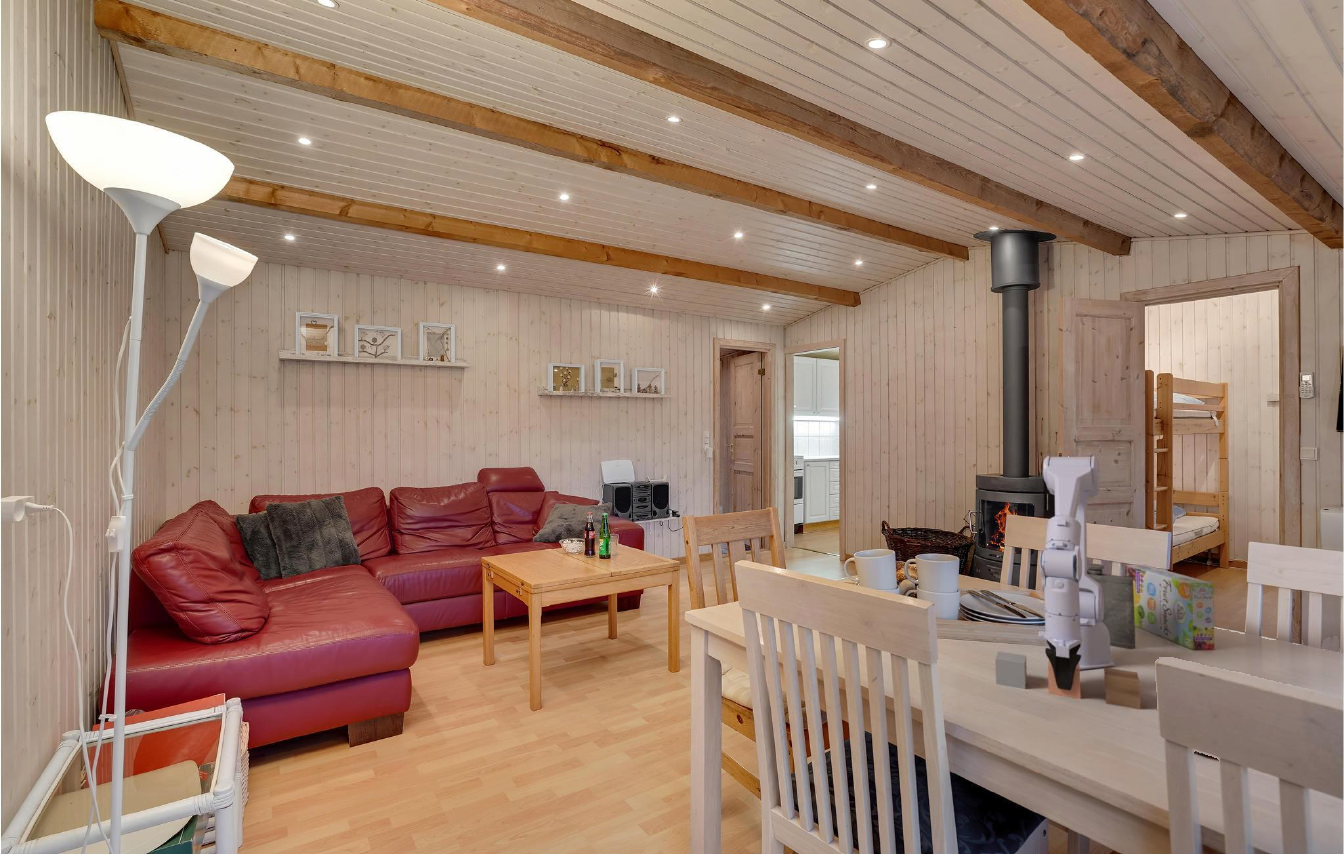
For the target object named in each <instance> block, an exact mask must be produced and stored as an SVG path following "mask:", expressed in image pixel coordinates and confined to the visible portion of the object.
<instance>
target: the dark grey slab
mask: <svg viewBox="0 0 1344 854" xmlns="http://www.w3.org/2000/svg"><path fill="white" fill-rule="evenodd" d="M1104 569H1105V566H1104V565H1103V564H1099V563H1087V575H1088V576H1090V577H1091V578H1092V579H1094V580H1095V581H1096V582H1098V583H1099V584H1100V585H1101V587H1102V589H1103V598H1104V618H1103V620H1102V621H1101V622H1102V623H1104V624H1105V626H1106V627H1107V629H1108V631H1109V635H1110V647H1116V648H1120V649H1128V650H1135V649H1136V626H1135V619H1134V590H1133V578H1131V577H1125V575H1124V576H1123V575H1117V574H1116V575H1115V574H1114V575H1113V574H1108V573H1107V574H1106V573H1104ZM1079 590H1084V591H1091V590H1090V589H1086V588H1079ZM1092 592H1093V591H1092Z"/></svg>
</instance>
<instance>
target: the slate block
mask: <svg viewBox="0 0 1344 854" xmlns="http://www.w3.org/2000/svg"><path fill="white" fill-rule="evenodd" d="M1027 670H1028V669H1027V656H1026V655H1025V654H1018V653H1017V654H1016V653H1011V652H1005V651H997V653H996V656H995V684H996V685H1000V686H1005V687H1009V688H1017V689H1022V690H1026V687H1027V680H1028V676H1027V673H1028V672H1027Z"/></svg>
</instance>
